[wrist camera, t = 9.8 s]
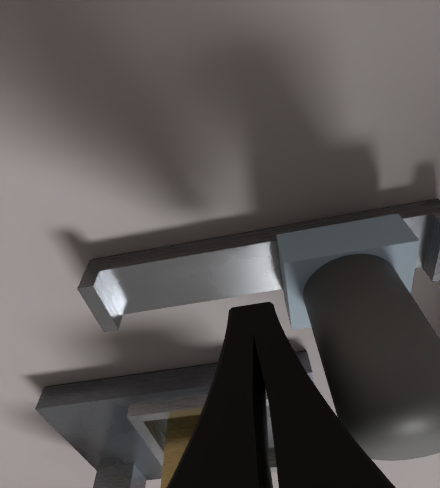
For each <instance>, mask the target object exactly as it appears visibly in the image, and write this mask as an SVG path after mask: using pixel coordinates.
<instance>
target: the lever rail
mask: <svg viewBox="0 0 440 488" xmlns="http://www.w3.org/2000/svg"><path fill="white" fill-rule="evenodd" d="M392 214H399V215H400V216H401V218H402V219H403V220H404V221H405V223H406V224H407V225H408V226H409V228H410V229H411V230H412V231H413V233H414V234H415V235H416V236H417V238H418V239H419V240H420V243H419V249H418V254H417V260H416V266H415V268H419V267H422V268H423V269H424V271H425V272H426V273H427V275H428V276H429V277H430V279H431V280H432V282H433V281H440V200H439V199H433V200H428V201H422V202H416V203H411V204H405V205H399V206H394V207H388V208H382V209H377V210H371V211H365V212H360V213H354V214H348V215H343V216H337V217H331V218H326V219H320V220H314V221H309V222H303V223H297V224H292V225H286V226H280V227H275V228H269V229H263V230H258V231H252V232H246V233H241V234H235V235H229V236H224V237H218V238H212V239H207V240H201V241H195V242H190V243H184V244H178V245H172V246H167V247H161V248H155V249H150V250H144V251H138V252H133V253H127V254H121V255H116V256H110V257H104V258H99V259H93V260H90V261H89V263H88V266H87V268H86V270H85V272H84V275H83V277H82V279H81V282H80V284H79V286H78V291H79V292H80V294H81V296H82V297H83V299H84V300H85V302H86V304H87V305H88V307H89V308H90V310H91V312H92V313H93V315H94V317H95V318H96V320H97V321H98V323H99V325H100V326H101V328H102V330H103V331H104V332H108V331H114V330H119V326H120V323H121V319H122V315H123V314H128V313H134V312H141V311H147V310H153V309H160V308H166V307H172V306H178V305H185V304H191V303H197V302H204V301H210V300H216V299H223V298H229V297H235V296H242V295H248V294H254V293H261V292H267V291H273V290H280V289H283V282H282V274H281V267H280V259H279V251H278V244H277V236H276V235H277V234H283V233H289V232H295V231H300V230H306V229H312V228H318V227H323V226H329V225H335V224H341V223H346V222H352V221H358V220H364V219H369V218H375V217H381V216H387V215H392Z"/></svg>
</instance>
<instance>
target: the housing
mask: <svg viewBox="0 0 440 488" xmlns="http://www.w3.org/2000/svg"><path fill="white" fill-rule="evenodd" d="M199 417H200V414H199V415H191V416H183V417H175V418H168V419H167V429H166V439H165V449H164V459H163V469H162V479H161V488H166V487H167V485H168V483H169V482H170V480H171V478H172V476H173V474H174V472H175V470H176V468H177V466H178V464H179V462H180V459H181V457H182V455H183V453H184V451H185V449H186V447H187V445H188V442H189V440H190V438H191V436H192V433H193V431H194V429H195V426H196V424H197V422H198V419H199Z"/></svg>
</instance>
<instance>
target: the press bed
mask: <svg viewBox="0 0 440 488" xmlns="http://www.w3.org/2000/svg"><path fill="white" fill-rule="evenodd" d="M295 354H296V355H297V357H298V359H299V361H300V362H301V364H302V366H303V367H304V369H305V371H306V372H307V374H308V375H309V377H310V379H311V380H312V382H313V374H312V369H311V365H310V361H309V358H308V354H307V351H302V352H295ZM217 365H218V363H215V364H208V365H201V366H194V367H186V368H179V369H172V370H165V371H158V372H151V373H143V374H136V375H129V376H122V377H115V378H107V379H100V380H93V381H86V382H79V383H71V384H64V385H57V386H50V387H44V389H43V391H42V394H41V396H40V399H39V401H38V404H37V406H36V408H35V409H36V410H37V411H38V412H39V413H40V414H41V415H42V416H43V417H44V418H45V419H46V420H47V421H48V422H49V423H50V424H51V425H52V426H53V427H54V428H55V429H56V430H57V431H58V432H59V433H60V434H61V435H62V436H63V437H64V438H65V439H66V440H67V441H68V442H69V443H70V444H71V445H72V446H73V447H74V448H75V449H76V450H77V451H78V452H79V453H80V454H81V455H82V456H83V457H84V458H85V459H86V460H87V461H88V462H89V463H90V464H91V465H92V466H93V467H94V468H95V469H96V470H97V473H96V477H95V481H94V486H93V488H145V484H146V480H152V479H161V478H162V469H163V459H164V449H165V439H166V429H167V419H168V418H175V417H183V416H191V415H199V414H201V412H202V409H203V407H204V404H205V401H206V398H207V396H208V393H209V390H210V387H211V384H212V381H213V378H214V375H215V372H216V369H217ZM266 406H267V425H268V444H269V459H270V470H271V472H275V471H277V466H276V458H275V449H274V441H273V433H272V425H271V417H270V409H269V402H268V397H267V393H266Z"/></svg>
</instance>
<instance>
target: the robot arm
mask: <svg viewBox="0 0 440 488" xmlns="http://www.w3.org/2000/svg"><path fill="white" fill-rule="evenodd" d="M266 393H267V397H268V402H269V409H270V417H271V425H272V433H273V441H274V449H275V458H276V466H277V474H278V482H279V488H395V487H394V485H393V484H392V483H391V482H390V481H389V480H388V479H387V477H386V476H385V475H384V474H383V473H382V471H381V470H380V469H379V468H378V467H377V466H376V464H375V463H374V462H373V461H372V460H371V459H370V457H369V456H368V455H367V454H366V453H365V451H364V450H363V449H362V448H361V447H360V446H359V444H358V443H357V442H356V441H355V439H354V438H353V437H352V435H351V434H350V433H349V432H348V430H347V429H346V428H345V427H344V425H343V424H342V423H341V421H340V420H339V419H338V417H337V416H336V415H335V413H334V412H333V411H332V409H331V408H330V406H329V405H328V404H327V402H326V401H325V399H324V398H323V396H322V395H321V394H320V392H319V391H318V389H317V388H316V386H315V385H314V383H313V382H312V380H311V379H310V377H309V375H308V374H307V372H306V371H305V369H304V367H303V366H302V364H301V362H300V361H299V359H298V357H297V355H296V354H295V352H294V350H293V349H292V347H291V345H290V343H289V341H288V339H287V337H286V335H285V333H284V331H283V329H282V327H281V325H280V322H279V320H278V317H277V315H276V312H275V309H274V305H273V304H272V303H270V302H265V303H259V304H252V305H246V306H239V307H233V308H231V309H230V310H229V316H228V323H227V329H226V334H225V339H224V343H223V347H222V351H221V354H220V358H219V362H218V365H217V369H216V372H215V375H214V378H213V381H212V384H211V387H210V390H209V393H208V396H207V398H206V401H205V404H204V407H203V409H202V412H201V414H200V417H199V419H198V422H197V424H196V426H195V429H194V431H193V433H192V436H191V438H190V440H189V442H188V445H187V447H186V449H185V451H184V453H183V455H182V457H181V459H180V462H179V464H178V466H177V468H176V470H175V472H174V474H173V476H172V478H171V480H170V482H169V483H168V485H167V487H166V488H273V485H272V477H271V470H270V459H269V444H268V425H267V406H266Z"/></svg>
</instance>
